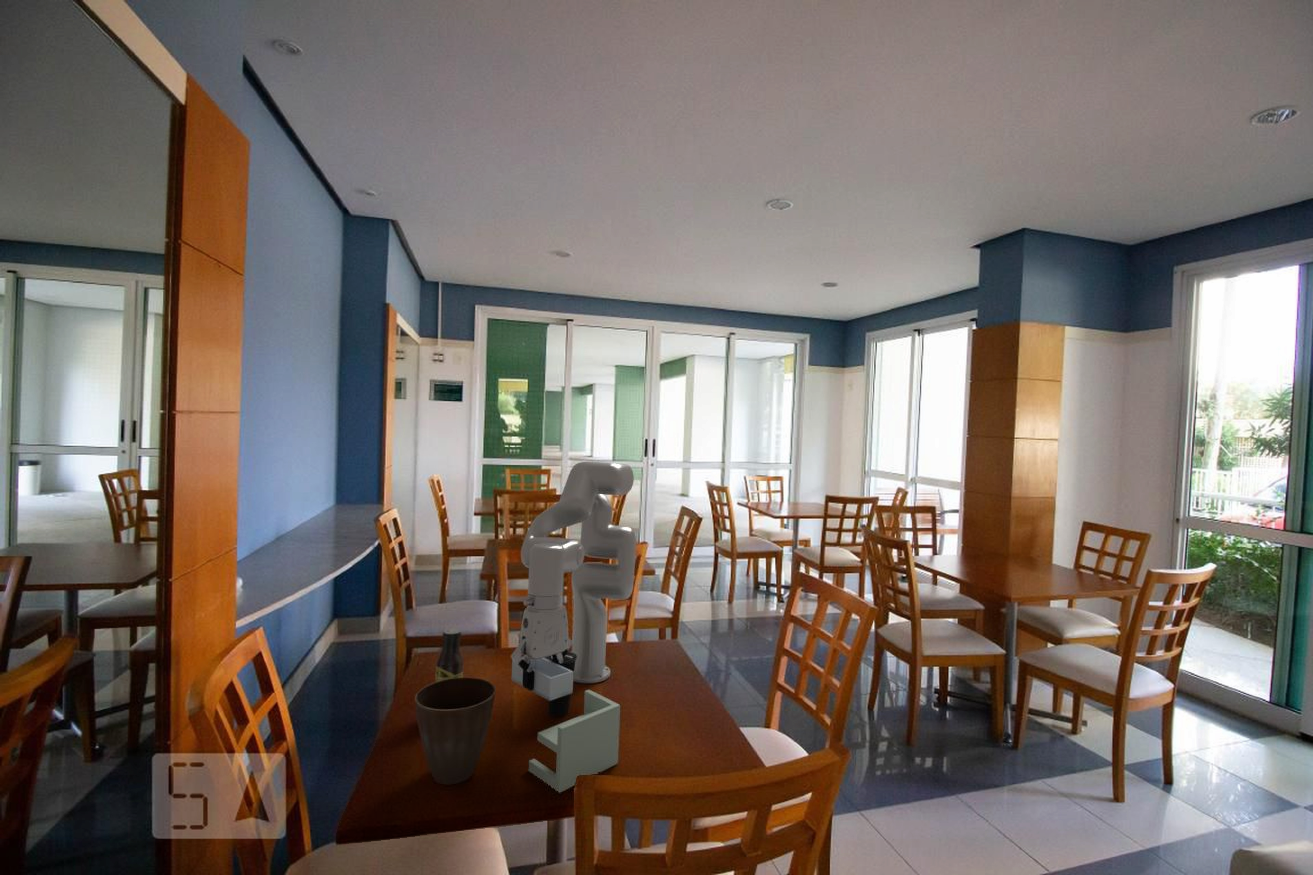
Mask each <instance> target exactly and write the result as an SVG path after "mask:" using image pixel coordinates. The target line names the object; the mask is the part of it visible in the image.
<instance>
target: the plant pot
mask: <svg viewBox="0 0 1313 875" xmlns="http://www.w3.org/2000/svg"><path fill="white" fill-rule="evenodd" d="M496 691H497V690H496V687H495V685H494V684H493V683H492V682H490V681H489V680H486V679H483V678H477V677H469V676H468V677H466V676H465V677H462V678H452V679H446V680H441V681H438V682H435V681H434V682H432V683H430V684H427V685H425V686H423V687H422V688H421V689H420V690H419V691H417V692H416V694H415V696H414V701H415V712H416V718H417V725H418V731H419V735H420V739H421V740H420V741H421V744H422V749H423V751H424V756H425V758H426V761H427V764H428V767H429V769H430V770H429V771H430V772H431V776H432V777H433V779H434V781H435V782H436V783H438V784H442V785H446V786H447V785H448V786H449V785H455V784H460V783H462V782H465V781H467V780H468V779H470V778H471V776H473V774H474V771H475V769H476V767H477V763H478V761H479V759H480V756H481V753H482V750H483V747H484V744H485V740H486V737H487V733H488V731H489V725H490V722H491V717H492V712H493V707H494V703H495V696H496Z"/></svg>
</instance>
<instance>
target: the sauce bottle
mask: <svg viewBox="0 0 1313 875" xmlns="http://www.w3.org/2000/svg"><path fill="white" fill-rule="evenodd" d="M461 636H462V630H461V629H459V628H455V627H454V628H453V627H452V628H446V629H444V630H443V632H442V640H443V641H442V649H441V652H440V654H439V656H438V658H437V662H436V664H435V675H434V676H435V677H434V683H435V682H438V681H441V680H446V679H452V678H462V677H463V676H464V675H463V674H464V668H463V667H464V657H463V654H462V652H461V651H460V648H461V647H460V639H461Z"/></svg>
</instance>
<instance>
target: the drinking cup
mask: <svg viewBox="0 0 1313 875" xmlns="http://www.w3.org/2000/svg"><path fill="white" fill-rule="evenodd" d="M544 658H545V659H548V660H552V658H551V656H548V657H544ZM576 659H577V655H576V654H575V653H572V652H571V651H570V650H568V651H567V653H566V655H565V656H564V658H563V662H562V663H561V666H563V667H565V668H567V669H569V670H571V671H573V676H574V668H575V661H576ZM571 697H572V693H571V694H568V695H565V696H562V697H559V698H556V699H554V700H551V701H549V700H547V706H548V707H547V708H548V710H547V711H548V715H549V716H550V717H553V718H563V717H566V716H567V715H568V714H569V712H570V705H571V704H570V703H571Z"/></svg>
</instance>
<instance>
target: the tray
mask: <svg viewBox="0 0 1313 875" xmlns="http://www.w3.org/2000/svg"><path fill="white" fill-rule="evenodd" d="M521 658H522V659H523V658H524V656H521ZM511 660H512V661H511V662H512V663H511V681H512V682H514V683H516V684H518V685H520V686H521V687H523V669H521V667H520V666H519V665H518V664H517V663H516V662H515V661H514V660H513V659H511ZM529 660H530V658H529ZM528 663H529V661H528ZM532 671H534V673H535V674H534V689H533V690H532V691H531V692H533V693H534V694H536V695H537V696H540V697H541V698H543V699H546V700H547V701H548V700H549V701H551V700H554V699H556V698H559V697H562V696H565V695H568V694H571V695H572V694H573V693H574V692H573V691H574V690H573V688H574V681H573V671H571V670H569V669H567V668H565V667H563V666H560V665H558V664H556V663H554V662H552V661H550V660H548V659H545V657H544V658H540V659H536V661H535V664H534V667H533V670H532Z"/></svg>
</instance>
